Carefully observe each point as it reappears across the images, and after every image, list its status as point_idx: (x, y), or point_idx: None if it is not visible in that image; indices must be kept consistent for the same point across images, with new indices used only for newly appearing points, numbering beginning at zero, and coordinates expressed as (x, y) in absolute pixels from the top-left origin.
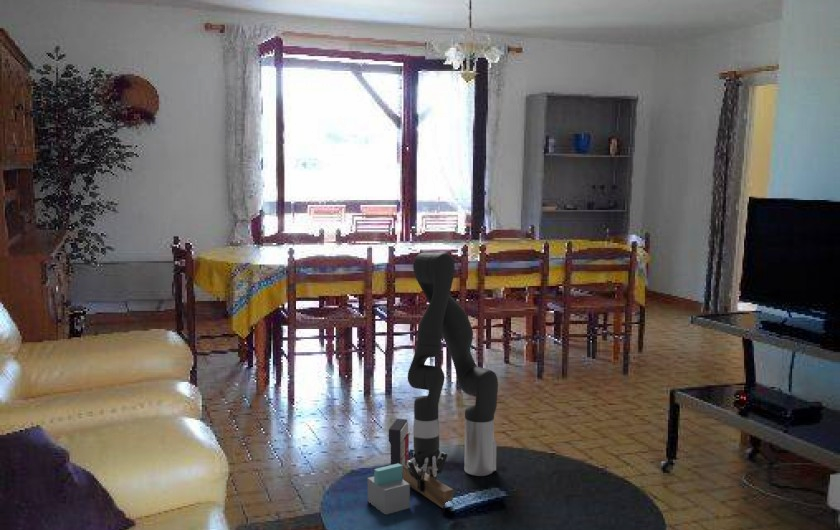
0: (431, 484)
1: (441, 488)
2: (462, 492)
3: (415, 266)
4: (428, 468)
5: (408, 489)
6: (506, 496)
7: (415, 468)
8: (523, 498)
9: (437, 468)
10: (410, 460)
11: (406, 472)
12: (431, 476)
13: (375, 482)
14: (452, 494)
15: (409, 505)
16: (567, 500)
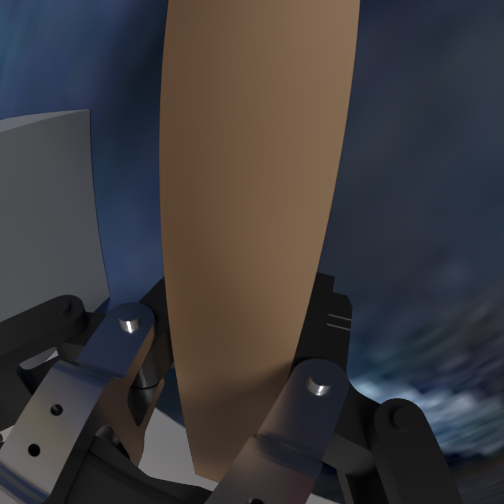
0: (186, 425)
1: (205, 466)
2: (452, 378)
3: None
4: (261, 428)
5: (41, 355)
6: (479, 458)
7: (296, 25)
8: (480, 474)
9: (364, 469)
10: None
11: None
12: (281, 389)
13: None
14: None
15: (101, 302)
16: (495, 494)
